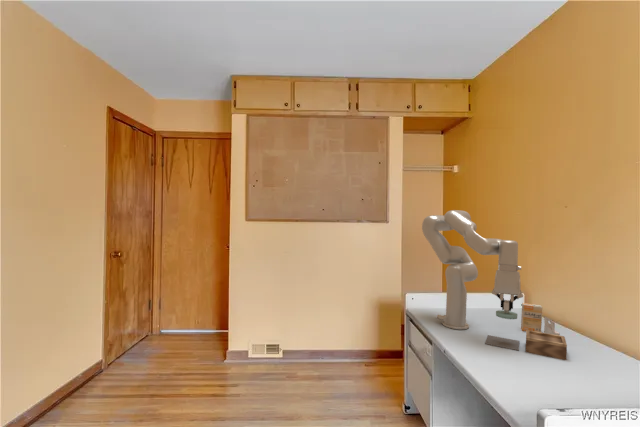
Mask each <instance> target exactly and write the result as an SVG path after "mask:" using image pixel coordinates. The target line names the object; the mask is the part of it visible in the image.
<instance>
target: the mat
mask: <svg viewBox="0 0 640 427" xmlns="http://www.w3.org/2000/svg"><path fill="white" fill-rule="evenodd" d="M484 345H486V346H493V347H498V348H502V349H508V350H512V351H518V352H519V351H520V340H516V339H510V338H506V337H501V336H496V335H490V334H487V337H486V339H485V342H484Z"/></svg>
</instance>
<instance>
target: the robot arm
mask: <svg viewBox="0 0 640 427" xmlns="http://www.w3.org/2000/svg"><path fill="white" fill-rule="evenodd" d="M477 229H478V228H477V224H476V223H475V222H474V221H472V217H471V214H470V213H469V212H468V211H465V210H458V209H457V210H456V209H453V210H452V209H451V210H448V211H446V213H445V214H444V215H442V214H441V215H439V214H433V215H428V216H426V217H424V219H423V220H422V224H421V231H422V234H423V235H424V238H425V239H426V240H427V241H428V243H429V245H430V246H431V248H432V250H433V251H434V253H435V254H436V257H437V258H438V260H439V261H440V263H441V264H444V265H448V266H447V267H446V269H445V280H446V300H445V301H446V304H445V314H444V315H441V314H437V315H436V318H437V319H438V320H441V321H442V322H441V323H442V325H443V326H444V327H446V328H448V329H453V330H458V331H459V330H468V329H469V328H470V324H468V323H467V298H468V297H467V295H468V294H467V293H468V292H467V287H466V285H465V284H466V283H467V282H473V281H476V279H477V278H478V276H479V271H478V268H477V265H476V264H475V263H474V262H475V261H473V260H472V258H471V257H470V254H468V252H467V250H466V249H465V248H463V247H461V246H459V245H451V244H450V243H449V241H448V239H447V238H446V237H445V235H443V234H442V233H440V232H441V231H442V232H443V231H445V232H448V231H453V230H454V231H456V232H457V233H458V234H459V235H461V237H463V240H464V242H465V243H466V245H467V246H468V247H469V248H470V249H472V250H473V251H474V252H476V253H477V254H479V255H483V256H498V265H497V266H498V268H497V269H496V271H495V275H494V287H493V289H492V290H491V294H492V295H494V296H496V297H497V298H498V299H499V300H500V308H501V310H504V301H505V300H506V299H505V298H504V295H509V296H510V298H509V300H510V301H509V311H511V312H512V310H513V309H514V302H515V301H516V300H517V299H521V298H523V297H524V295H523V292H522V290H521V286H522V285H521V275H520V271H522V266H519V264H518V260H519V244H518V241H516V240H513V239H511V240H509V239H501V238H485V237H482V236H481V235H480V234H479V233H478V232H477ZM519 270H520V271H519Z"/></svg>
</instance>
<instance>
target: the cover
mask: <svg viewBox="0 0 640 427" xmlns="http://www.w3.org/2000/svg"><path fill="white" fill-rule="evenodd" d="M504 300H505V301H504V310H502V309H499V310H496V311H495V316H496V317H498V318H501V319H506V320H517V319H518V313H516V312H515V311H514V312H513V311H512V310H511V311H509V301H510V299H504Z"/></svg>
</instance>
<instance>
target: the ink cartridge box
mask: <svg viewBox="0 0 640 427" xmlns="http://www.w3.org/2000/svg"><path fill="white" fill-rule="evenodd" d="M543 322H544V327H543V328H544V329H543V333H547V334H553V335H559V336H561V334H560V332H558V331H557V330H556V328H555V323H556V322H554V321H553V320H551V319H550V318H548V317H546V316H545V315H544V316H543Z"/></svg>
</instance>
